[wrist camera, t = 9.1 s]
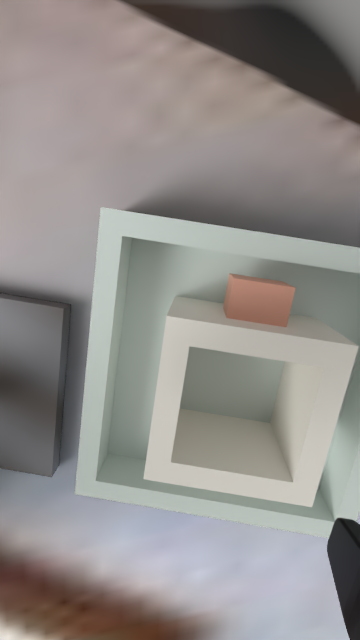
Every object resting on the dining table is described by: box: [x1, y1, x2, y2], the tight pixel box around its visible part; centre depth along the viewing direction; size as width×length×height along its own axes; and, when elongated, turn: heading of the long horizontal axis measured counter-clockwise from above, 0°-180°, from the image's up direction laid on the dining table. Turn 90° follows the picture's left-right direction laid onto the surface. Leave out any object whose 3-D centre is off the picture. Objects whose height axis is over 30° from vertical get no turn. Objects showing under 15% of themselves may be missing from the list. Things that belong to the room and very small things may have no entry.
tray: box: [75, 207, 360, 538], centre depth 17 cm, size 14×14×3 cm
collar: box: [143, 273, 359, 507], centre depth 15 cm, size 7×9×4 cm
